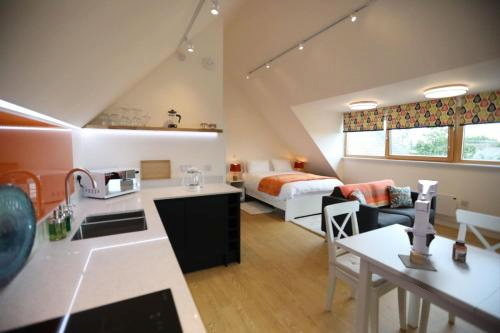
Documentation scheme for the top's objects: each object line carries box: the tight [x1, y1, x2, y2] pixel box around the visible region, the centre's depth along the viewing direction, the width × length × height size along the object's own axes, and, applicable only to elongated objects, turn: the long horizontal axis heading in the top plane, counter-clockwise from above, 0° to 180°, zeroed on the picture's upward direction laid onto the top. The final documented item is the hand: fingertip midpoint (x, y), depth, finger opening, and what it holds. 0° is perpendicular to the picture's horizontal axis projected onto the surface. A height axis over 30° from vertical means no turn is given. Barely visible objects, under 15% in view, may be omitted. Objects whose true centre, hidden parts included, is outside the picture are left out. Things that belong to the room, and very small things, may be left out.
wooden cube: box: [409, 250, 425, 265], centre depth 130 cm, size 5×5×5 cm
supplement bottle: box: [451, 239, 468, 263], centre depth 132 cm, size 6×6×11 cm
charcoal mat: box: [397, 253, 438, 272], centre depth 130 cm, size 14×14×1 cm
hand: (419, 245), depth 130 cm, fingers open, 7 cm apart
